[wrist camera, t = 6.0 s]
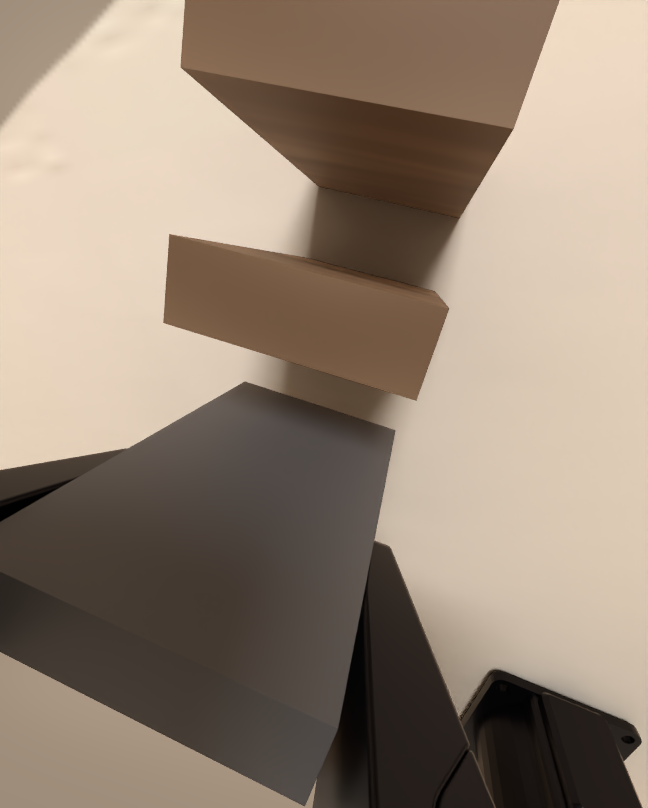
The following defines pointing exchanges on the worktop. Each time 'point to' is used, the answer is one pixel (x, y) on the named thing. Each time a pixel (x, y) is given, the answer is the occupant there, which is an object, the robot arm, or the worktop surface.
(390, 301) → the domino
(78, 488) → the gray domino
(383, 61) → the domino
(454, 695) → the worktop surface
